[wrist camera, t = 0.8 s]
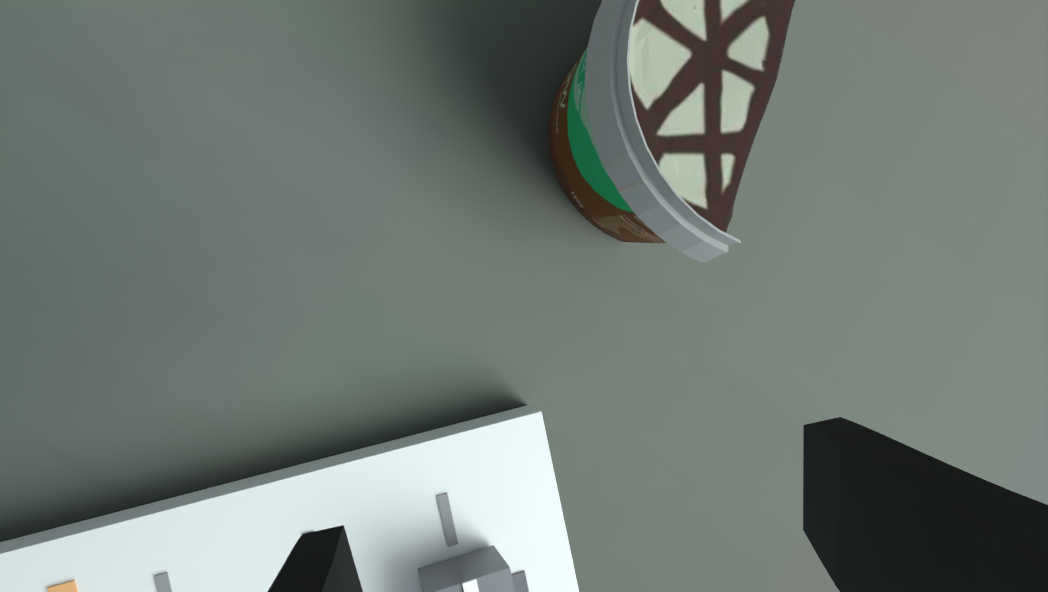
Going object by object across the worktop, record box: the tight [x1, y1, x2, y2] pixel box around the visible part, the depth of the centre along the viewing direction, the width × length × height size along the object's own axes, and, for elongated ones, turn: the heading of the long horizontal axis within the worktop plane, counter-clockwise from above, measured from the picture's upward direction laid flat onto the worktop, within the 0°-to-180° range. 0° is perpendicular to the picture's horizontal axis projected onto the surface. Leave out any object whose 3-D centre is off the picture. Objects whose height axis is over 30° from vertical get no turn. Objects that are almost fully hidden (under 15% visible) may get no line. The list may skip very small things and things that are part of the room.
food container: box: [548, 0, 795, 263], centre depth 28 cm, size 12×6×10 cm, turn 161°
